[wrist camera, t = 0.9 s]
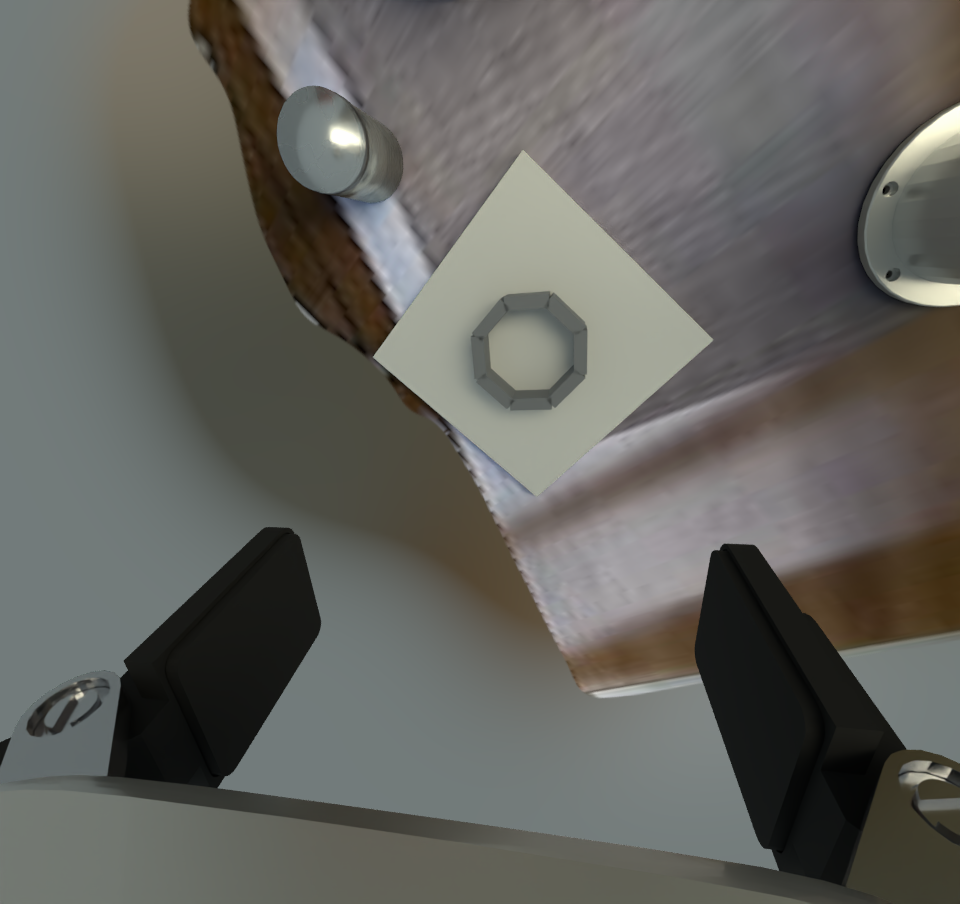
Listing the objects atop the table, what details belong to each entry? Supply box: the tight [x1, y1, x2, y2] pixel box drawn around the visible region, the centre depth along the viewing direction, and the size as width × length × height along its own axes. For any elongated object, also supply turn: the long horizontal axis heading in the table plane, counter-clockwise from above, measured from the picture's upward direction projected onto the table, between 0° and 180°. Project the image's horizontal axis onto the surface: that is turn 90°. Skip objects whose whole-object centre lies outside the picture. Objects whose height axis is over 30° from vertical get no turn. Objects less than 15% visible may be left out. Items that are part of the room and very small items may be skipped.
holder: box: [373, 150, 713, 497], centre depth 37 cm, size 20×20×4 cm
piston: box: [277, 86, 403, 203], centre depth 32 cm, size 6×6×8 cm
